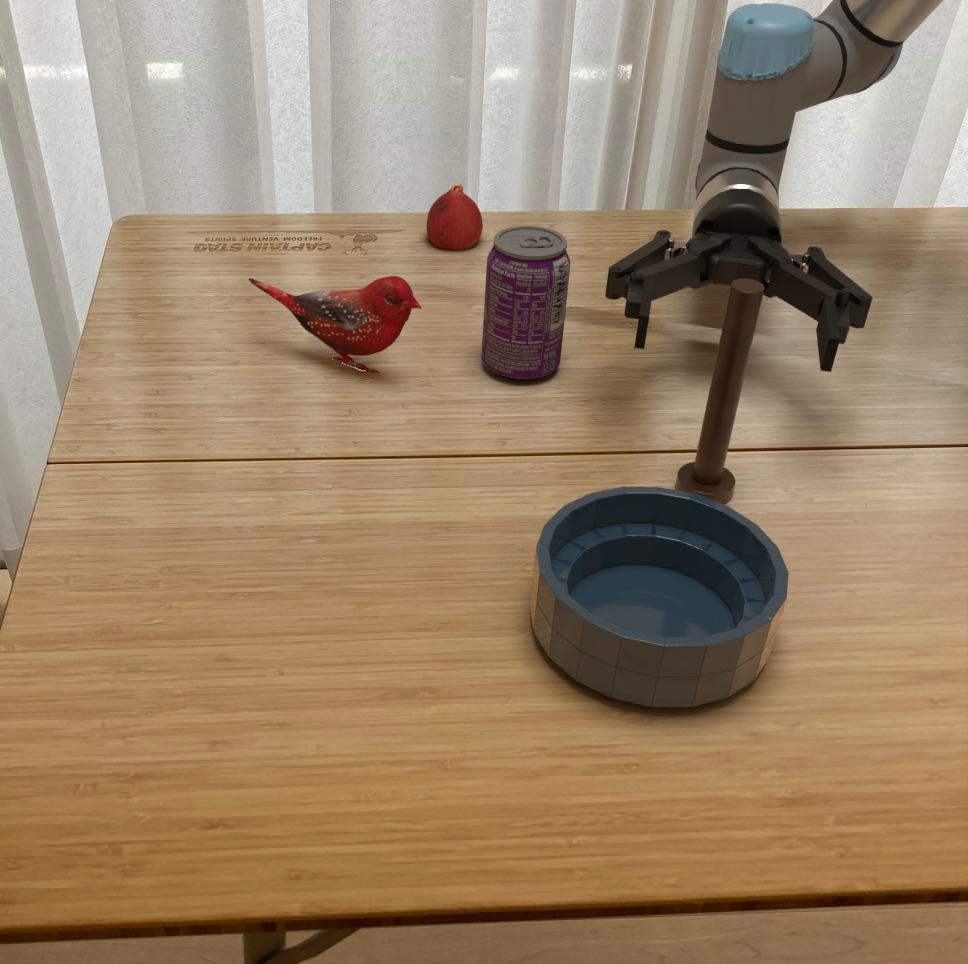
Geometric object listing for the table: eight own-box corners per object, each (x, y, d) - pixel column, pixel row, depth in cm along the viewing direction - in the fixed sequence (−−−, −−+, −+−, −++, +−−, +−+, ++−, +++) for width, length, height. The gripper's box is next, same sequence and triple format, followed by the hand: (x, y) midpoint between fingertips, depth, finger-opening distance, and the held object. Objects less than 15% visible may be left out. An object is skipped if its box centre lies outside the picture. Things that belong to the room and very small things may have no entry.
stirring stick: (735, 479, 87) (782, 276, 76) (730, 511, 84) (779, 304, 73) (678, 469, 88) (718, 267, 77) (671, 500, 85) (711, 294, 74)
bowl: (774, 579, 78) (793, 511, 74) (759, 741, 66) (781, 671, 62) (556, 535, 81) (564, 468, 78) (505, 683, 70) (511, 612, 66)
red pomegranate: (439, 273, 115) (441, 198, 110) (417, 251, 119) (418, 178, 114) (489, 264, 117) (494, 189, 112) (466, 242, 121) (469, 170, 116)
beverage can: (548, 344, 104) (560, 221, 96) (568, 383, 98) (583, 255, 91) (473, 349, 103) (480, 225, 95) (490, 389, 97) (498, 260, 90)
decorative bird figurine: (412, 396, 96) (414, 290, 90) (244, 346, 102) (234, 243, 96) (428, 381, 98) (430, 276, 92) (262, 333, 104) (253, 232, 98)
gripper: (871, 284, 98) (897, 409, 82) (590, 253, 102) (561, 367, 86) (895, 202, 93) (927, 317, 77) (599, 173, 97) (570, 277, 81)
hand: (734, 344), depth 82 cm, fingers open, 13 cm apart
